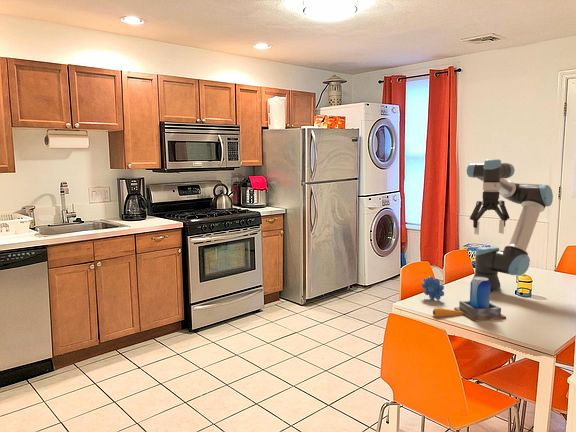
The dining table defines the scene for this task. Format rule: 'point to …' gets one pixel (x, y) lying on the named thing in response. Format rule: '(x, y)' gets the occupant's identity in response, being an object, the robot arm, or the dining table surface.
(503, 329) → the dining table surface
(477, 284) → the beer can
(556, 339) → the dining table surface
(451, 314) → the carrot
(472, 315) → the holder
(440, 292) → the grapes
